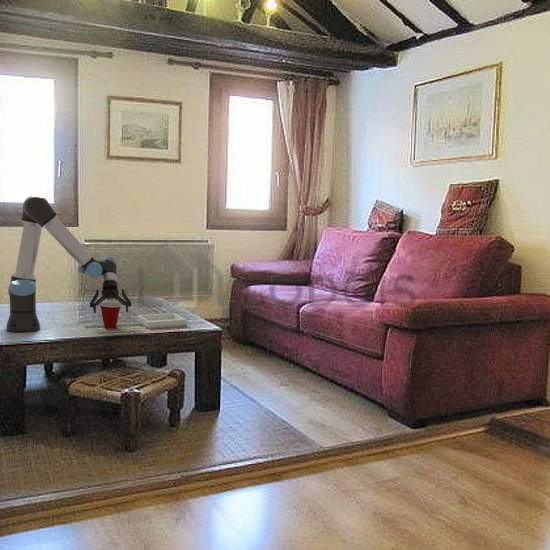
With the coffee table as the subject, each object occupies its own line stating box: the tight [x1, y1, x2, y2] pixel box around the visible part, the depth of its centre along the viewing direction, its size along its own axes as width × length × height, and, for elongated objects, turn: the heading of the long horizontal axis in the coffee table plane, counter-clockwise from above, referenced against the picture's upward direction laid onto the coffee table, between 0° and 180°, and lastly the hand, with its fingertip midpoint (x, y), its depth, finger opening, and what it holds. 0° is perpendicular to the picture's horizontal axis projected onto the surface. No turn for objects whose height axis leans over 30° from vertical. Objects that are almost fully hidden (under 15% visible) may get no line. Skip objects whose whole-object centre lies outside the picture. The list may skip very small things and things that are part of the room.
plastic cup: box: [99, 301, 123, 329], centre depth 321 cm, size 11×11×12 cm
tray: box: [137, 312, 188, 330], centre depth 332 cm, size 20×20×4 cm
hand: (111, 317), depth 319 cm, fingers open, 13 cm apart
